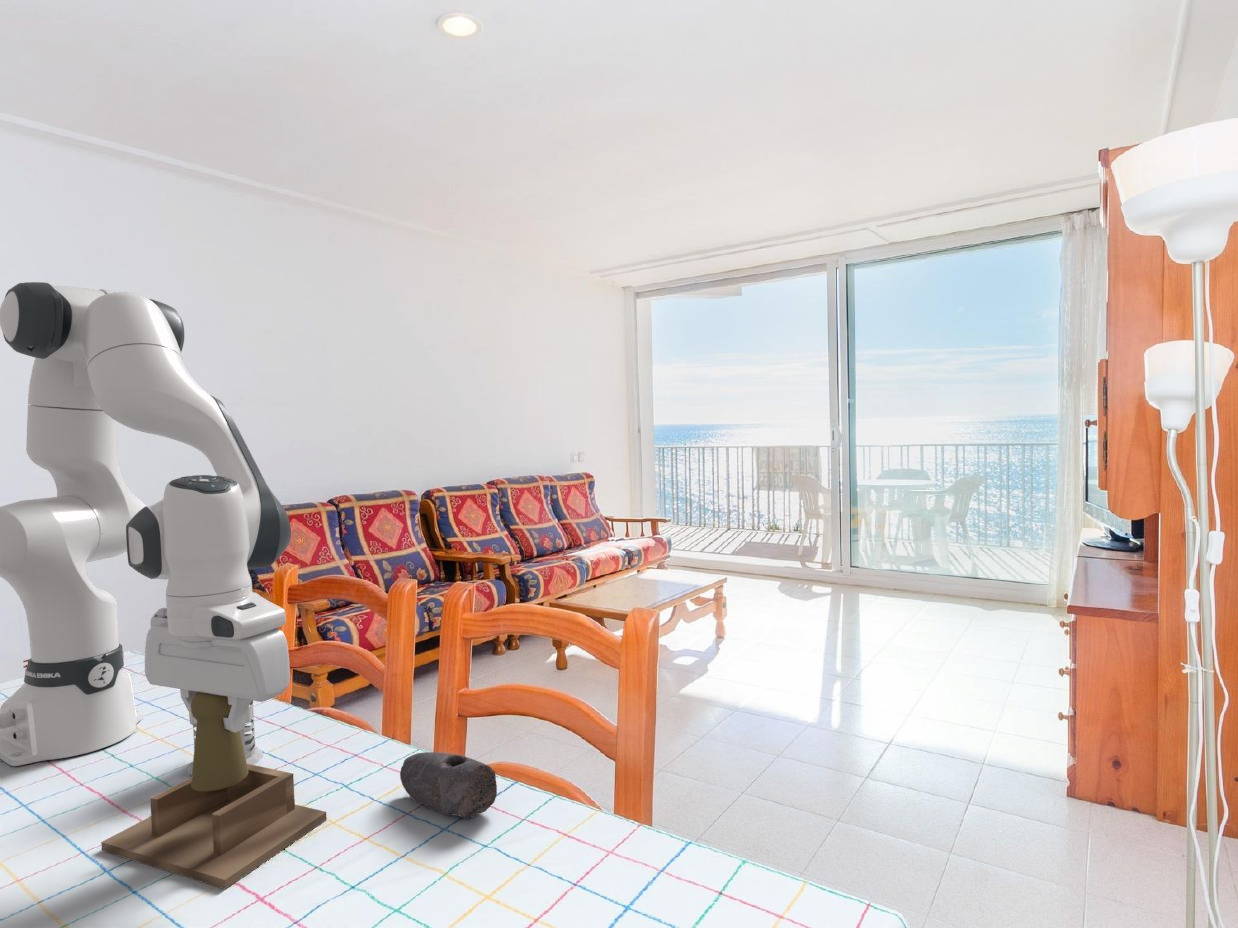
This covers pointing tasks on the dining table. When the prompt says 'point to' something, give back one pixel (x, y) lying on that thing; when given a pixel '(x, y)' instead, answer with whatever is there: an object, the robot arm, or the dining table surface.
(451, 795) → the perforated stone tool
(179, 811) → the u rest
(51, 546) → the robot arm
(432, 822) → the dining table surface
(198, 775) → the cork
